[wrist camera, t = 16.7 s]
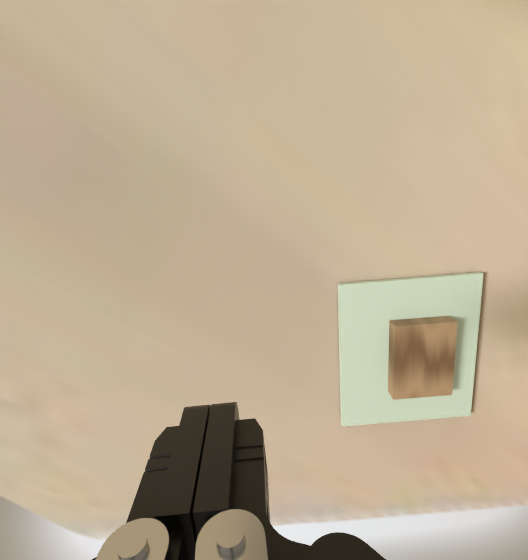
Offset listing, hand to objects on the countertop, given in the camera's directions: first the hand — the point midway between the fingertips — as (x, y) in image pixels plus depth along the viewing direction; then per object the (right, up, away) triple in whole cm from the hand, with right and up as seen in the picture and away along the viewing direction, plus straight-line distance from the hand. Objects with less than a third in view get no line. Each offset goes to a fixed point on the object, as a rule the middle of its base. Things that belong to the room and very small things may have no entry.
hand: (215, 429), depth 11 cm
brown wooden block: (+14, -4, +26) cm, 30 cm away
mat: (+16, -3, +28) cm, 32 cm away
